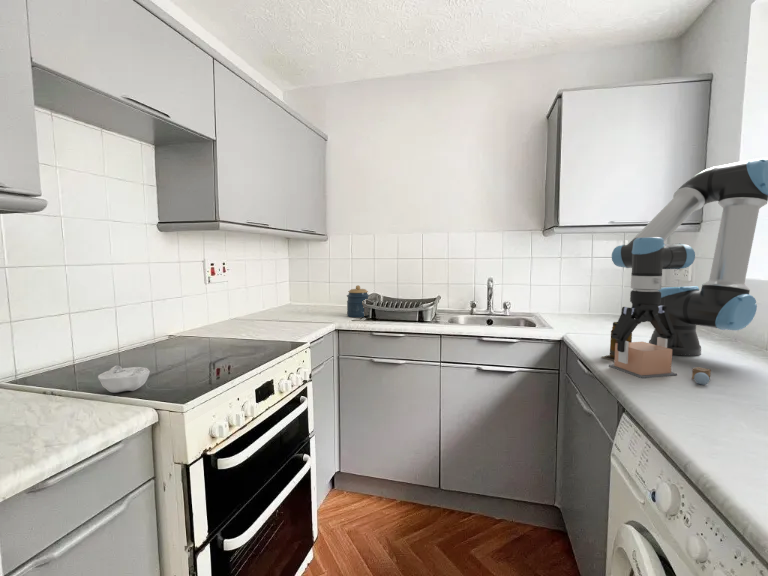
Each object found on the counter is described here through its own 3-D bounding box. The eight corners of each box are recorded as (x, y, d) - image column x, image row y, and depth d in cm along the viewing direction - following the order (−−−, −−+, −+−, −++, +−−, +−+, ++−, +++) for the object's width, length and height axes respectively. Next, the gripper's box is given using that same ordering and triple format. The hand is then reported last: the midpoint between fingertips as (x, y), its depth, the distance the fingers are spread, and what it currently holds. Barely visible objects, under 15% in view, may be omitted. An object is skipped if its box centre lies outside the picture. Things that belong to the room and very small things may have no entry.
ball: (700, 381, 105) (700, 370, 105) (712, 385, 102) (713, 374, 102) (690, 382, 105) (691, 371, 104) (702, 386, 102) (703, 374, 101)
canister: (344, 317, 217) (343, 286, 215) (350, 314, 229) (349, 284, 228) (367, 318, 215) (366, 286, 213) (371, 314, 227) (371, 284, 226)
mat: (641, 363, 123) (641, 362, 123) (676, 375, 111) (676, 373, 111) (608, 366, 121) (608, 364, 121) (641, 378, 109) (641, 376, 109)
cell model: (135, 398, 97) (133, 371, 96) (88, 398, 97) (86, 371, 96) (159, 384, 107) (158, 360, 106) (116, 384, 107) (115, 360, 107)
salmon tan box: (641, 363, 122) (642, 341, 121) (670, 372, 112) (672, 349, 112) (614, 365, 120) (615, 343, 119) (641, 375, 110) (643, 351, 109)
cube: (697, 377, 110) (697, 367, 109) (710, 380, 107) (710, 369, 107) (691, 379, 108) (692, 368, 108) (704, 382, 106) (705, 371, 105)
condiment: (636, 358, 129) (638, 323, 128) (623, 363, 124) (625, 326, 123) (613, 354, 135) (614, 320, 134) (600, 358, 130) (602, 322, 129)
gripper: (619, 292, 108) (616, 367, 110) (692, 289, 113) (688, 361, 115) (599, 290, 115) (596, 360, 117) (669, 287, 120) (665, 354, 122)
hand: (642, 360), depth 116 cm, fingers open, 13 cm apart
